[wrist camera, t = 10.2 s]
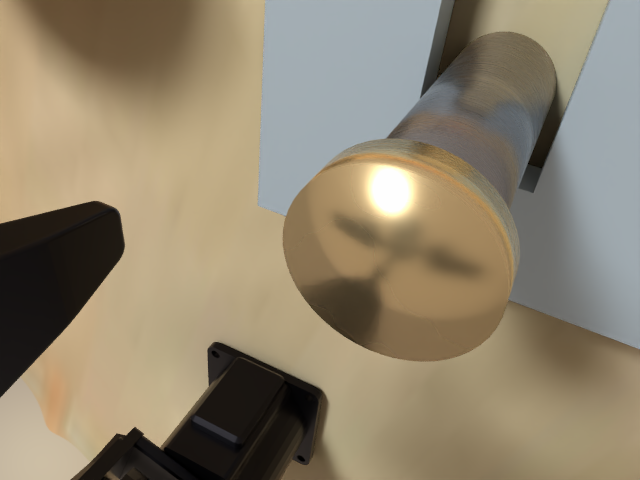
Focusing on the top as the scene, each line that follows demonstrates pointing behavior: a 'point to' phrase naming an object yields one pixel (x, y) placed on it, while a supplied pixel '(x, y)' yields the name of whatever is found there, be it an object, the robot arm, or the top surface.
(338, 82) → the keyhole board
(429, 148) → the bolt
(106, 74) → the top surface
